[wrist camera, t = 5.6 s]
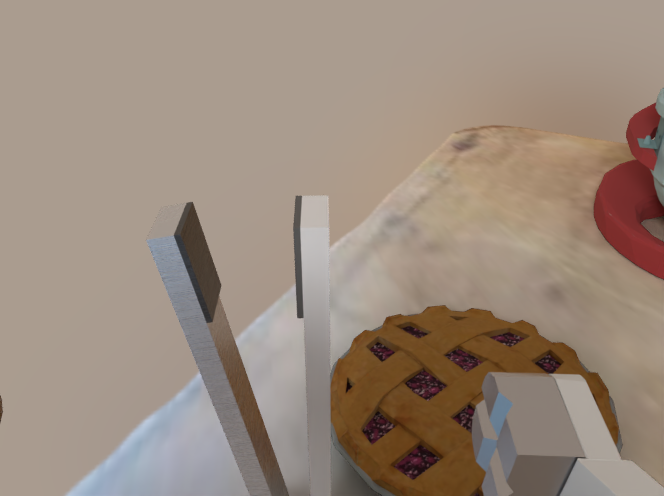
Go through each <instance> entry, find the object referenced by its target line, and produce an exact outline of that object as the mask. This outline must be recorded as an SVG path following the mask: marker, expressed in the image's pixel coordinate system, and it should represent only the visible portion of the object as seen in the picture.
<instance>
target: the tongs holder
mask: <svg viewBox="0 0 664 496" xmlns="http://www.w3.org/2000/svg"><path fill="white" fill-rule="evenodd" d="M328 204H329V201H328V196H296V200H295V214H294V227H293V230H294V252H295V276H296V298H297V318H304V341H305V367H306V394H307V421H308V448H309V474H310V496H331V407H330V279H329V205H328Z"/></svg>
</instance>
